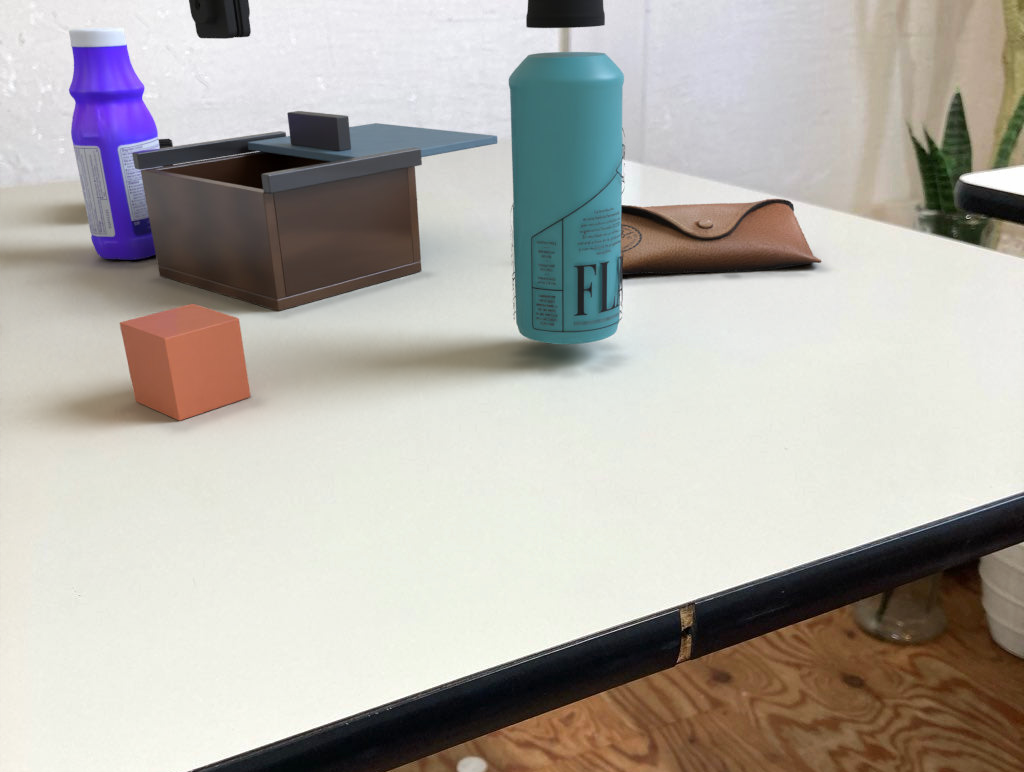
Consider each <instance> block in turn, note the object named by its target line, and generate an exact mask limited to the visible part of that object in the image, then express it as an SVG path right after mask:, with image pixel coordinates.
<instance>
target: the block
mask: <svg viewBox="0 0 1024 772" xmlns="http://www.w3.org/2000/svg"><path fill="white" fill-rule="evenodd" d="M119 328H120V331H121V336H122V342H123V346H124V351H125V357H126V361H127V366H128V372H129V377H130V381H131V384H132V385H131V386H132V390H133V395H134V401H135V402H136V403H139V404H141V405H143V406H145V407H148V408H150V409H152V410H153V411H157V412H158V413H161V414H163V415H166V416H168V417H170V418H172V419H175V420H176V421H179V422H180V421H183V420H186V419H189V418H192V417H194V416H198V415H201V414H203V413H206V412H209V411H213V410H217V409H218V408H222V407H225V406H228V405H231V404H234V403H236V402H240V401H243V400H245V399H249V398H250V397H251V390H250V383H249V375H248V370H247V364H246V363H247V362H246V357H245V349H244V345H243V343H244V342H243V337H242V330H241V323H240V318H239V317H236V316H234V315H230V314H227V313H223V312H221V311H218V310H214V309H211V308H208V307H206V306H205V307H204V306H201V305H199V304H195V303H190V304H189V303H188V304H185V305H182V306H178V307H174V308H171V309H166V310H162V311H159V312H155V313H151V314H147V315H143V316H139V317H135V318H131V319H128V320H123V321H120V322H119Z"/></svg>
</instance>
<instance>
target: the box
mask: <svg viewBox="0 0 1024 772" xmlns="http://www.w3.org/2000/svg"><path fill="white" fill-rule="evenodd" d="M286 136H287V133H286V131H281V130H279V131H278V130H277V131H272V132H265V133H258V134H249V135H244V136H237V137H231V138H223V139H215V140H208V141H202V142H195V143H189V144H188V143H187V144H182V145H173V147H166V148H159V149H152V150H145V151H139V152H133V153H132V155H133V161H134V166H135V169H139V170H141V176H142V181H143V187H144V192H145V198H146V203H147V209H148V214H149V220H150V225H151V231H152V236H153V242H154V247H155V253H156V255H155V259H156V264H157V269H158V275H159V277H163V278H166V279H170V280H173V281H177V282H180V283H183V284H185V285H190V286H193V287H197V288H199V289H204V290H207V291H210V292H214V293H217V294H220V295H223V296H226V297H231V298H234V299H237V300H240V301H244V302H247V303H251V304H253V305H257V306H261V307H264V308H267V309H271V310H274V311H278V312H280V311H285V310H288V309H290V308H294V307H298V306H302V305H305V304H308V303H312V302H315V301H316V302H317V301H319V300H324V299H326V298H331V297H333V296H338V295H340V294H345V293H348V292H352V291H355V290H358V289H362V288H366V287H369V286H373V285H376V284H381V283H384V282H388V281H391V280H394V279H399V278H402V277H405V276H410V275H413V274H416V273H420V272H422V269H423V268H422V254H421V241H420V225H419V208H418V194H417V193H418V191H417V178H416V176H417V175H416V167H420V166H422V165H423V159H422V158H423V157H421V149H420V148H408V149H402V150H397V151H391V152H385V153H379V154H374V155H368V156H362V157H356V158H351V159H345V160H339V161H333V162H330V161H323V160H316V159H309V158H302V157H295V156H288V155H281V154H274V153H267V152H260V151H253V150H249V149H248V142H252V141H259V140H266V139H273V138H279V137H286ZM167 165H170V166H167ZM161 166H164V167H161ZM154 167H157V168H154ZM148 168H151V169H148ZM142 169H144V170H142Z"/></svg>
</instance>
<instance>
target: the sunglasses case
mask: <svg viewBox="0 0 1024 772" xmlns="http://www.w3.org/2000/svg"><path fill="white" fill-rule="evenodd" d="M794 211H795V207H794V204H793V203H792V202H791V201H790V200H787V199H783V198H766V199H763V200H757V201H751V202H729V203H725V202H723V203H721V202H719V203H699V204H698V203H697V204H696V203H693V204H672V205H669V204H668V205H657V206H655V205H651V206H638V205H632V204H631V205H629V204H628V205H627V204H621V224H622V225H623V228H622V227H621V230H622V234H623V235H622V234H621V255H623V269H622V276H623V275H635V274H636V275H637V274H662V275H663V274H679V273H681V274H682V273H720V272H721V273H724V272H725V273H726V272H727V273H729V272H730V273H731V272H732V273H733V272H735V273H736V272H755V271H764V270H777V269H783V268H789V267H796V266H802V265H809V264H815V263H818V264H821V263H822V260H821V258H818V257H817V256H814V253H813V251H812V250H811V247H810V245H809V243H808V240H807V238H806V236H805V233H804V232H803V230H802V228H801V226H800V224H799V220H798V219H797V216H796V214H795V213H794ZM622 249H623V251H622ZM620 271H621V268H620Z"/></svg>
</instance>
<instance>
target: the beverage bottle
mask: <svg viewBox="0 0 1024 772" xmlns="http://www.w3.org/2000/svg"><path fill="white" fill-rule="evenodd" d="M604 9H605V7H604V0H527V12H526V19H525V23H526V24H525V25H526V28H528V29H529V28H530V29H573V28H592V27H593V28H594V27H602V26H605V24H606V14H605V10H604ZM624 83H625V75H624V72H623V71H622V70H621V68H620V67H619V66H618V64H616V63H615V62H614V61H613V60H612V59H611V57H609V56H608V55H607V54H606V53H605V52H598V51H597V52H594V51H591V52H590V51H555V52H554V51H553V52H538V53H532V54H528V55H527V56H526V57H525V58H524V59H523V60H522V61H521V62H520V63H519V65H518V66H517V67H516V68H515V69H514V70H513V71H512V73H511V74H510V76H509V78H508V87H509V99H510V101H509V102H510V104H509V105H510V131H511V134H510V137H511V166H512V167H511V169H512V198H513V202H512V205H511V210H510V211H512V213H509V214H510V216H509V217H511V214H512V222H511V220H510V223H512V226H510V228H511V229H512V230H511V232H512V233H511V240H513V243H511V245H510V249H511V251H510V252H511V253H513V254H511V256H510V257H511V258H513V260H511V263H512V275H511V277H512V278H511V279H512V282H511V285H512V290H514V296H513V298H512V300H515V302H512V303H513V305H512V307H513V308H512V310H513V314H512V316H513V320H515V323H516V327H517V329H518V332H519V334H520V335H521V336H523V337H525V338H527V339H529V340H532V341H536V342H540V343H546V344H556V345H577V344H587V343H594V342H599V341H603V340H605V339H607V338H610V337H611V336H613V335H614V334H615V333H617V331H618V328H619V323H620V321H621V320H622V318H623V316H621V315H622V314H623V312H622V309H621V307H623V299H624V298H623V296H624V295H623V292H624V291H623V288H624V287H623V275H622V269H623V255H621V234H622V230H621V227H622V228H623V225H622V224H621V205H622V200H623V199H622V197H623V193H624V191H625V186H626V185H625V184H626V183H625V181H626V179H625V176H626V174H623V166H625V165H626V164H625V162H623V160H624V159H625V158H626V144H624V143H623V140H624V139H623V136H624V137H626V136H625V135H626V134H623V133H625V131H624V128H623V87H624ZM623 184H624V185H623ZM623 186H624V187H623ZM622 235H623V234H622ZM622 251H623V249H622ZM620 268H621V271H620ZM620 314H621V315H620ZM620 316H621V317H620Z"/></svg>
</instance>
